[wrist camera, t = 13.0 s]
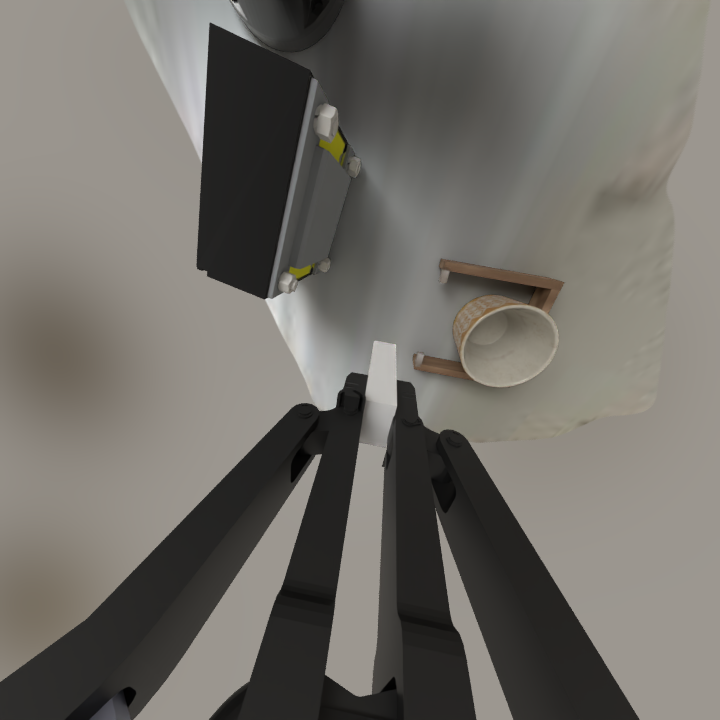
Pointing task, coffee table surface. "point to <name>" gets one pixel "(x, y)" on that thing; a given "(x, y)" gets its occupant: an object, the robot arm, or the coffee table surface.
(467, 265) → the walnut cradle
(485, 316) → the planter
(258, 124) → the electrical component
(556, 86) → the coffee table surface
